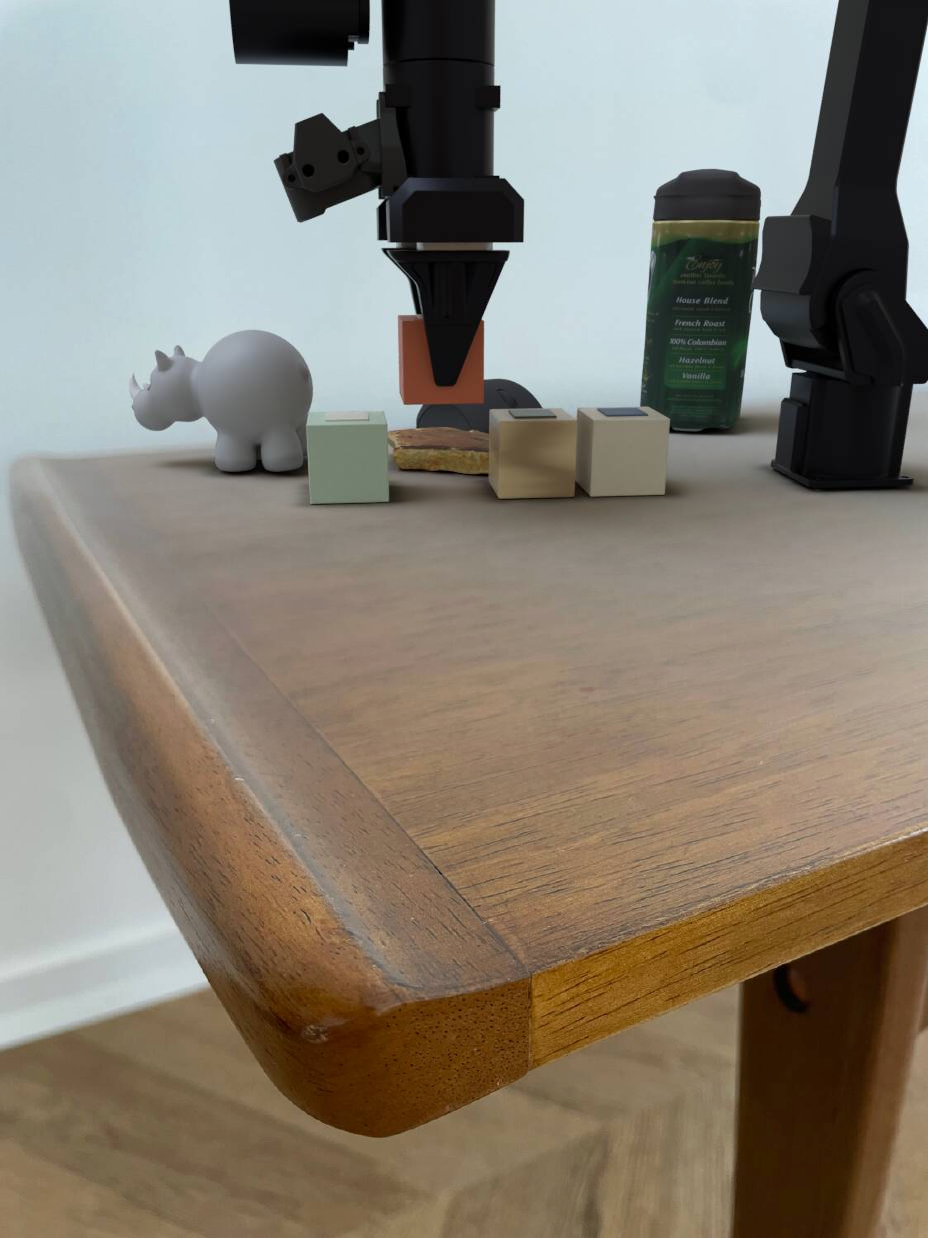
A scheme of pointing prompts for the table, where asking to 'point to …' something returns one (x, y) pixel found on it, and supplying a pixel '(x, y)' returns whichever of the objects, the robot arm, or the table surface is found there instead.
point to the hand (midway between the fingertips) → (441, 380)
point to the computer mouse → (477, 407)
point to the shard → (441, 449)
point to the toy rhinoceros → (235, 399)
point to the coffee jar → (700, 298)
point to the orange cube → (418, 369)
